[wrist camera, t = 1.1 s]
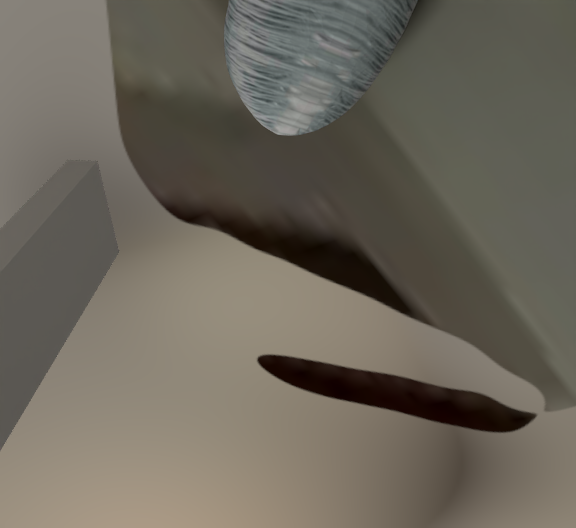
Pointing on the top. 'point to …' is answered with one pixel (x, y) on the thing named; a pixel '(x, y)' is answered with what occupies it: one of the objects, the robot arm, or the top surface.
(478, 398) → the top surface
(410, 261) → the top surface
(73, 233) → the robot arm
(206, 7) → the top surface
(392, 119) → the top surface
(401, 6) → the grey streaked egg shape
